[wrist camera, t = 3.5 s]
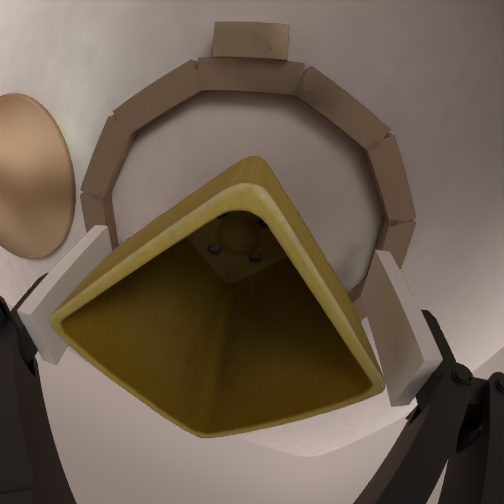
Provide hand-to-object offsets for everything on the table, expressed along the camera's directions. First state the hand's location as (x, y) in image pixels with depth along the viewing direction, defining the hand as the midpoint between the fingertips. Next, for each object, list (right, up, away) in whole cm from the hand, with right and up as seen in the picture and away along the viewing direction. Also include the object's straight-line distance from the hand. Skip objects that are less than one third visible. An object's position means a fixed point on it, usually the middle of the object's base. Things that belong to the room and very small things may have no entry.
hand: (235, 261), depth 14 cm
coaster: (-16, +5, +1) cm, 16 cm away
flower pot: (0, +1, +2) cm, 3 cm away
